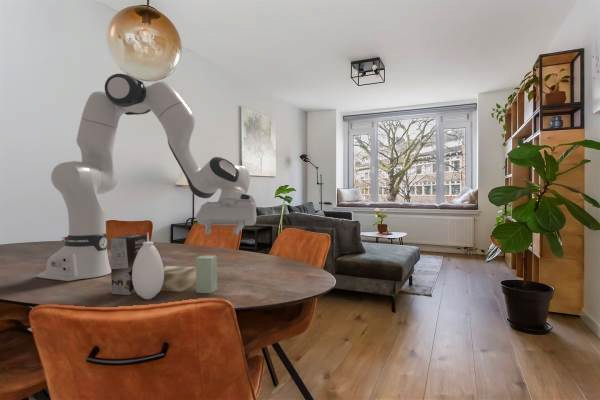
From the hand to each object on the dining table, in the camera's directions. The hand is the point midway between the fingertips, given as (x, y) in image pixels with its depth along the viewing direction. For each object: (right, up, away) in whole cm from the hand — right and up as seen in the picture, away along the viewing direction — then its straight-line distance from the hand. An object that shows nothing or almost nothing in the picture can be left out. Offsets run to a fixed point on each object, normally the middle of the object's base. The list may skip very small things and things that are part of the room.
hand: (221, 233), depth 113 cm
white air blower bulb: (-16, -16, -19) cm, 29 cm away
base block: (-13, -16, -7) cm, 21 cm away
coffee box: (-24, -16, -11) cm, 31 cm away
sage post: (-2, -16, -11) cm, 19 cm away
